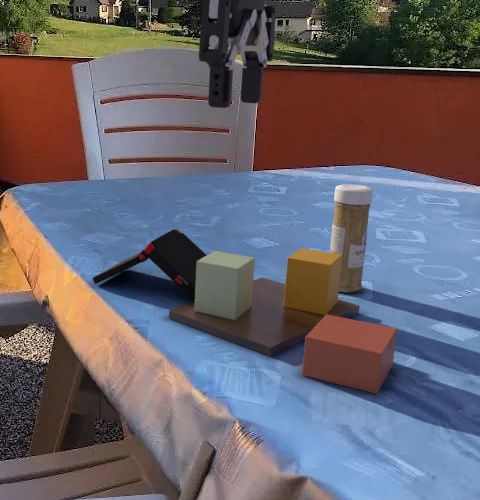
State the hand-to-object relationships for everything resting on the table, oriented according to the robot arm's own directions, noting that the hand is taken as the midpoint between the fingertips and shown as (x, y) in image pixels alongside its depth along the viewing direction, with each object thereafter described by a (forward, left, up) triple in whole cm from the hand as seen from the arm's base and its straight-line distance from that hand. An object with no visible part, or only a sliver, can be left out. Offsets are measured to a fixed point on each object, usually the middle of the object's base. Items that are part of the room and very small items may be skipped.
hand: (235, 105), depth 75 cm
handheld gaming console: (-4, -10, -19) cm, 22 cm away
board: (-4, +3, -24) cm, 25 cm away
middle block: (0, 0, -23) cm, 23 cm away
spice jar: (-20, +4, -24) cm, 32 cm away
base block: (+2, +17, -24) cm, 30 cm away
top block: (-9, +6, -23) cm, 25 cm away
